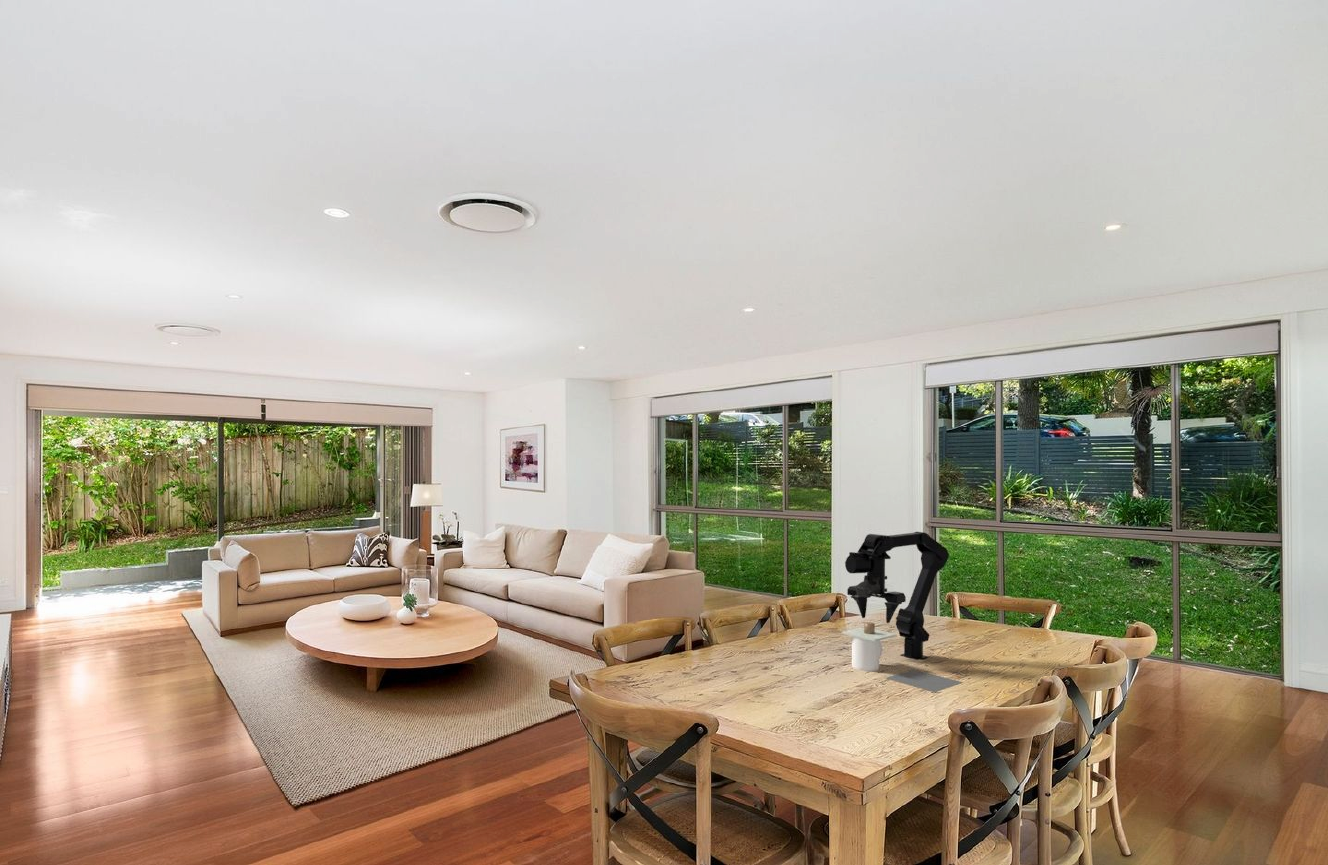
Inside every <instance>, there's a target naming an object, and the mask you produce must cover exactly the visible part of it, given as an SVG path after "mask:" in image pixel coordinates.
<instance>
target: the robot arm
mask: <svg viewBox="0 0 1328 865" xmlns="http://www.w3.org/2000/svg"><path fill="white" fill-rule="evenodd" d="M915 545H916V549H917V551H919V552H920V554H921V555H920V563H921V569H920V573H919V575H918V577H917V581H916V583H915V586H914V588H913V592H912V594H911V597H910V600H909V601H908V602H909V603H908V605H907V606H906V607H905V608H900V609H898V607H899V605H902V604H903V603H906V602H907V600H906V595H905V593H904V592H900V591H889V592H888V588H886V580H888V575H886V560H891V556H890V555H889V554H888V553H887V552H889V551H892V549H895V548H899V547H907V546H909V547H910V546H915ZM949 557H950V553H949V551H948V548H946V547H945V546H943V545H942V544H941V543H939V541H936V539H933V538H932V537H931V536H930V535H929V534H928V533H927V532H925V531H924V532H922V531H914V532H907V533H899V534H893V535H891V534H890V535H886V534H885V535H884V534H878V533H877V534H875V533H869V534H867V535H866V536H865V537H864V541H863V542H862V544H861V546H860V547H859V549H858V550H857V552H854V551H853V552H852V551H850V552H849V555H848V556H847V557H846V558H845V562H844V564H845V569H846V571H847V572H848V573H849V574H864V577H863V581H861V582H859V583H858V584H856V585H849V587H848V588H847V589H846V591H847V592H846V593H847V596H850V598H851V599H853V600H854V601H855V602H856V604H857V607H858V610H859V613H860V615H861V618H862V619H866V616H867V615H866V614H867V604H868V599H869V598H871V597H874V598H879V599H884V600H885V601H886V602H884V605H885V607H886V610H885V616H886V617H885V618H886V619H885V622H886V624H890V623H891V621H892V618H893V616H894V614H895V612H896V611H897V609H898V613H897V616H896V617H895V620H896V621H895V626H896V630H897V631H898V635H899V636H900V637H902V638H904V642H903V644H904V645H903V648H904V650H903V653H902V654H900V657H904V658H909V659H912V660H916V661H917V660H924V659H927V658H928V656H927V655H924V643H925V642H929V639H930V634H929V633H928V632H927V630H926V629H925V627H924V625H925V618H924V609H925V606H926V603H927V601H928V599H929V595H930V593H931V590H932V587H933V585H934V581H935V579H936V577H937V573H939V571H941V570H942V569H943V568H944V567H945V565H946V563H947V562H948V560H949ZM865 574H866V575H865Z"/></svg>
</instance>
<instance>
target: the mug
mask: <svg viewBox="0 0 1328 865" xmlns="http://www.w3.org/2000/svg"><path fill="white" fill-rule="evenodd" d="M882 653H883V644H882V640H878V641H871V640H867V639H863V638H858V637H854V636H851V666H852V668H853V669H855V670H859V671H864V672H877V671H879V670H880V659H881V657H882V656H883V655H882Z"/></svg>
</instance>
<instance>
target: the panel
mask: <svg viewBox="0 0 1328 865" xmlns="http://www.w3.org/2000/svg"><path fill="white" fill-rule="evenodd" d="M841 634H843V635H846V636H850V637H852V636H854V637H858V638H863V639H867V640H871V641H878V640H880V641H883V640H887V639H891V638H896V637H897V636H898V634H896V633H893V632H887V631H883V630H880V629H879V630H878V629H876V628H875V622H863V627H859V628H854V629H848V630H844V631H841Z"/></svg>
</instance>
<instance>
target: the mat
mask: <svg viewBox="0 0 1328 865" xmlns="http://www.w3.org/2000/svg"><path fill="white" fill-rule="evenodd" d="M885 679H886V680H889V681H894V682H897V683H900V684H904V685H908V686H910V687H915V688H917V689H922V690H925V691H929V692H932V693H938V692H940V691H943V690H945V689H948V688H949V689H950V688H952V687H954V686H958V685H960V684H963V683H964V682H963V681H960V680H956V679H953V678H949V677H944V676H940V675H936V674H933V673H929V672H925V671H923V670H917V669H910V670H907V671H904V672H900V673H897V674H894V675H891V676H887V677H885Z"/></svg>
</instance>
